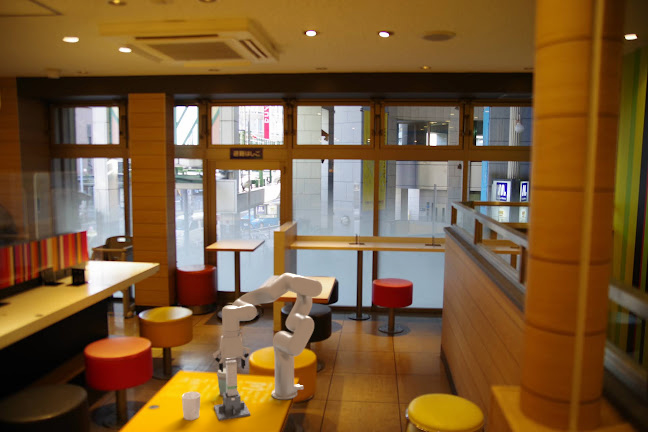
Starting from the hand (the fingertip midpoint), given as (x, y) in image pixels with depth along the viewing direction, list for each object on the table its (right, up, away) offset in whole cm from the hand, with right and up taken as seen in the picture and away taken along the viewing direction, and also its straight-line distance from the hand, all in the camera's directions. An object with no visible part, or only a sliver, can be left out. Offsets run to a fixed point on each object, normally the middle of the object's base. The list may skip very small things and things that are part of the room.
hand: (232, 369), depth 236 cm
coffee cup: (-7, -18, +20) cm, 28 cm away
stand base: (-1, -20, +1) cm, 20 cm away
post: (0, -13, +1) cm, 13 cm away
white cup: (-18, -20, -4) cm, 27 cm away
